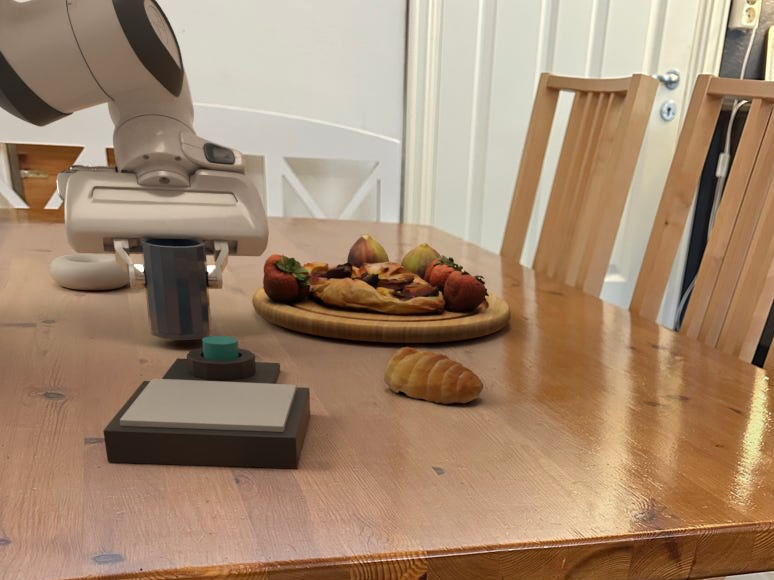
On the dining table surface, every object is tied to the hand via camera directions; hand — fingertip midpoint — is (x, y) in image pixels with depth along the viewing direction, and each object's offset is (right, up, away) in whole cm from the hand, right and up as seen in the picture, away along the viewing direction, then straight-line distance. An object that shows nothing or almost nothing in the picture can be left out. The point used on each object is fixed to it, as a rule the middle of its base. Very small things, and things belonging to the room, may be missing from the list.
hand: (177, 285), depth 96 cm
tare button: (+7, -10, -8) cm, 14 cm away
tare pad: (+7, -12, -7) cm, 15 cm away
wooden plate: (+19, +4, +21) cm, 29 cm away
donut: (-20, +10, +26) cm, 34 cm away
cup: (-1, -4, +3) cm, 5 cm away
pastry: (+27, -13, -6) cm, 30 cm away
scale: (+10, -20, -20) cm, 30 cm away
